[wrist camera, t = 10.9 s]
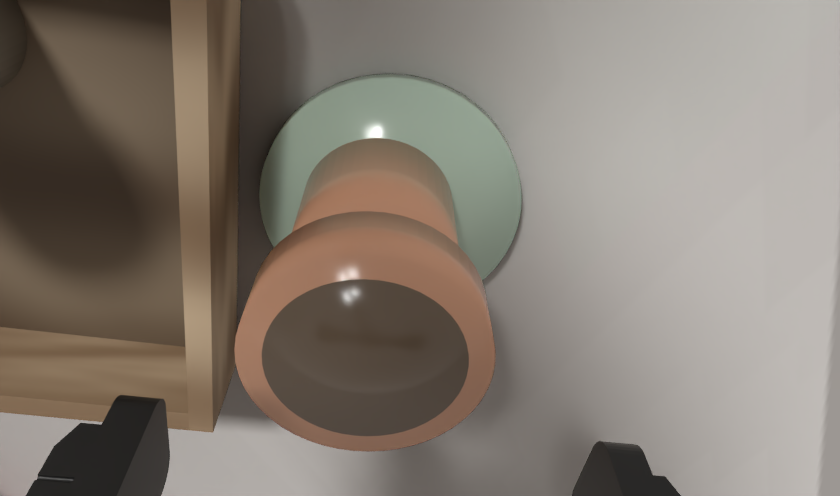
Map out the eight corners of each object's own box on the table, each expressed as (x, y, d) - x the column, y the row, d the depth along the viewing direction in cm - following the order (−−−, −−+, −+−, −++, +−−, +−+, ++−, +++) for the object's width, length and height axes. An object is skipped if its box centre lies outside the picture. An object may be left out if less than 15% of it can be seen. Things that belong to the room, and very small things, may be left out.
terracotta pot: (292, 108, 19) (235, 238, 12) (485, 137, 19) (524, 274, 13) (283, 270, 22) (233, 441, 15) (450, 291, 22) (467, 462, 16)
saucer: (268, 53, 18) (263, 59, 18) (547, 96, 19) (552, 104, 19) (259, 286, 23) (255, 297, 22) (487, 313, 24) (489, 325, 23)
